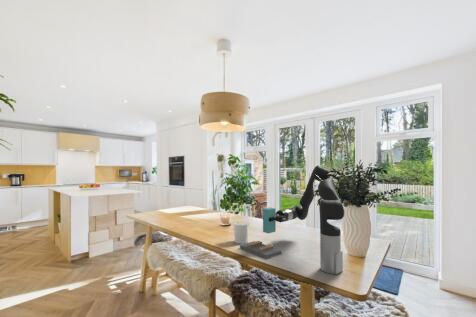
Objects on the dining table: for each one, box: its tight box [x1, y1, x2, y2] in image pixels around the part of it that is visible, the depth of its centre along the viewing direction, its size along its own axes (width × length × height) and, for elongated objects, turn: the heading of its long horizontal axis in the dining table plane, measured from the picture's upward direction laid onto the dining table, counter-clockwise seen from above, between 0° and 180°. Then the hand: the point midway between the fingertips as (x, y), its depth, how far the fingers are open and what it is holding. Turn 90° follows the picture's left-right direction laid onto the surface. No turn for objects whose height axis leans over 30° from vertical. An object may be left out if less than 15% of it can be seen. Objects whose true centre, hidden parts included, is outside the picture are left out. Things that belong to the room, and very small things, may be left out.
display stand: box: [239, 240, 282, 260], centre depth 143 cm, size 22×12×4 cm, turn 41°
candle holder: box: [233, 221, 250, 245], centre depth 161 cm, size 10×10×12 cm
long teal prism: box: [262, 207, 277, 234], centre depth 149 cm, size 4×6×14 cm
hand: (266, 219), depth 147 cm, fingers closed on long teal prism, 4 cm apart
